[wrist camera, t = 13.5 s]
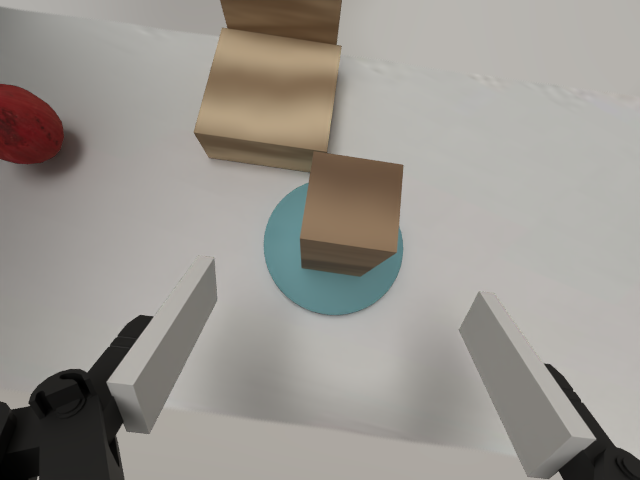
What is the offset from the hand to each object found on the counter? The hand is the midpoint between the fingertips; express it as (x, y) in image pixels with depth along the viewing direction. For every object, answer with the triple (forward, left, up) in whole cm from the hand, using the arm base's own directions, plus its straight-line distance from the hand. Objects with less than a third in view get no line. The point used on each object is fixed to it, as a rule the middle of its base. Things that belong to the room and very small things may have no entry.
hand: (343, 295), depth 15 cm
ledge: (-16, +10, -11) cm, 22 cm away
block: (-3, +4, -9) cm, 11 cm away
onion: (-28, -7, -11) cm, 31 cm away
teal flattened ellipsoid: (-3, +4, -11) cm, 12 cm away
